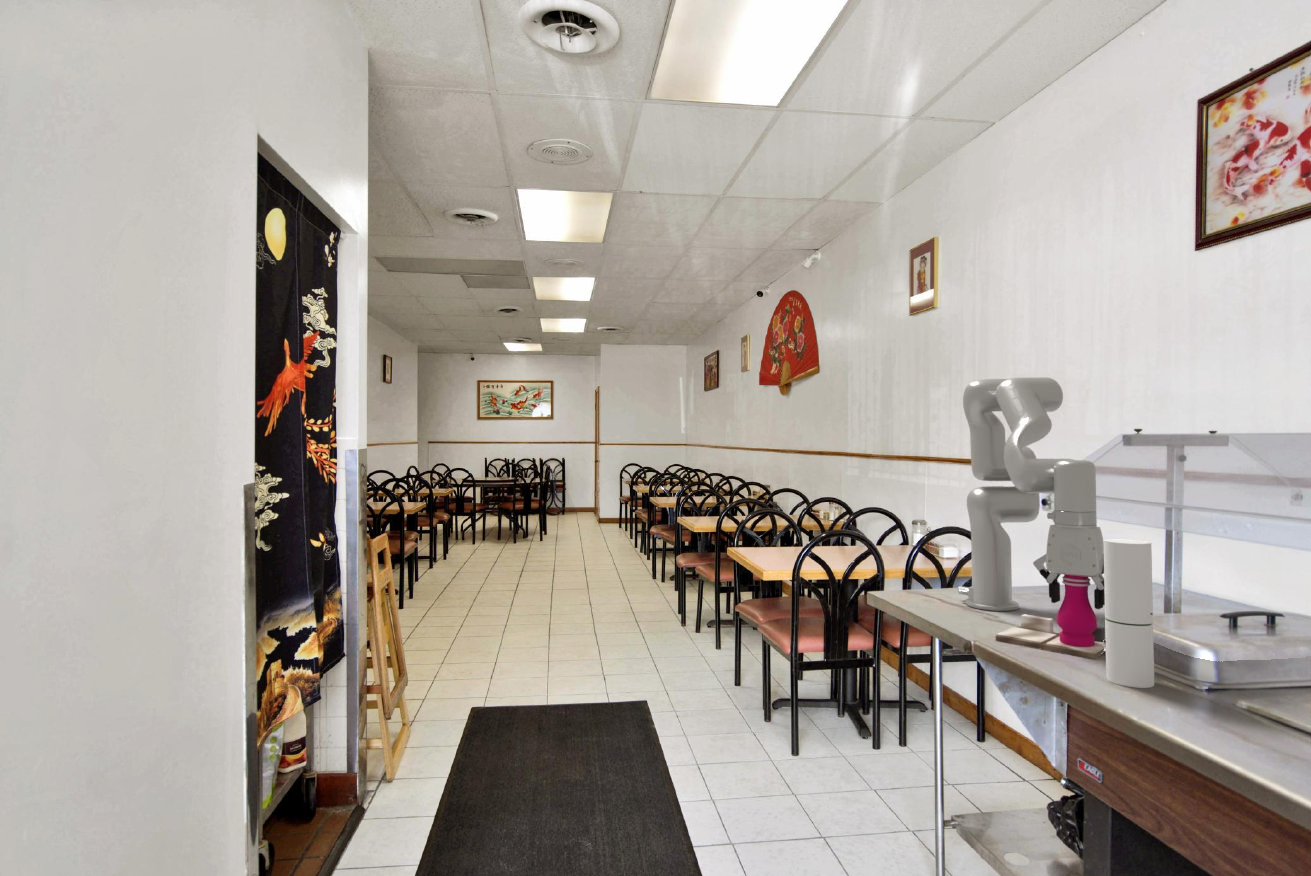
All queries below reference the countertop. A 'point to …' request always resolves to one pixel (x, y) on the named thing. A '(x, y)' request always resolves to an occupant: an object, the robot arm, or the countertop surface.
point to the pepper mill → (1076, 613)
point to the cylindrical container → (1129, 612)
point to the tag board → (1049, 637)
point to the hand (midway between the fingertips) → (1076, 604)
